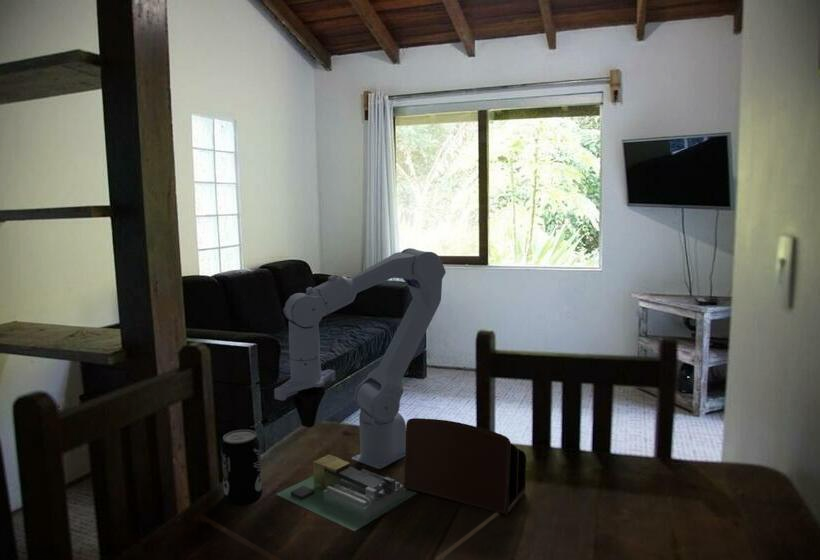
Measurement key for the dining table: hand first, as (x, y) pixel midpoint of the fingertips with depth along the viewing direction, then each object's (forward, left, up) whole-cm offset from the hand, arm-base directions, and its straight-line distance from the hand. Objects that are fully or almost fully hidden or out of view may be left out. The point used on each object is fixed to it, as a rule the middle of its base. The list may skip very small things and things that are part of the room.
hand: (308, 425), depth 120 cm
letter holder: (-12, +28, -10) cm, 32 cm away
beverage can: (+14, -2, -10) cm, 17 cm away
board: (+2, +12, -10) cm, 16 cm away
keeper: (+2, +8, -9) cm, 13 cm away
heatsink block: (+2, +16, -9) cm, 19 cm away
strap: (+2, +15, -6) cm, 16 cm away
